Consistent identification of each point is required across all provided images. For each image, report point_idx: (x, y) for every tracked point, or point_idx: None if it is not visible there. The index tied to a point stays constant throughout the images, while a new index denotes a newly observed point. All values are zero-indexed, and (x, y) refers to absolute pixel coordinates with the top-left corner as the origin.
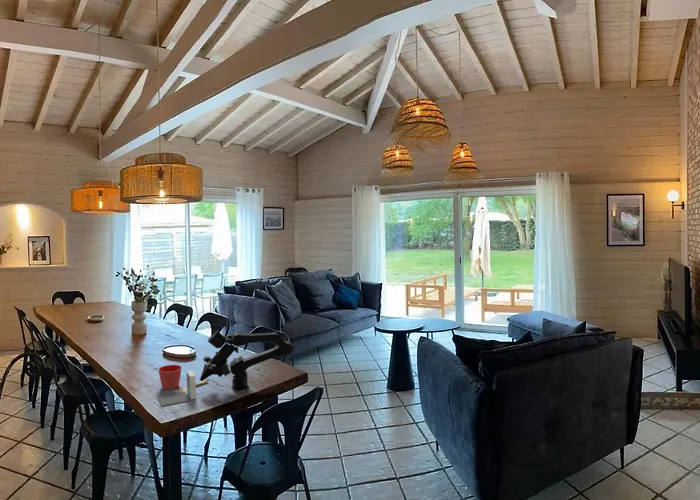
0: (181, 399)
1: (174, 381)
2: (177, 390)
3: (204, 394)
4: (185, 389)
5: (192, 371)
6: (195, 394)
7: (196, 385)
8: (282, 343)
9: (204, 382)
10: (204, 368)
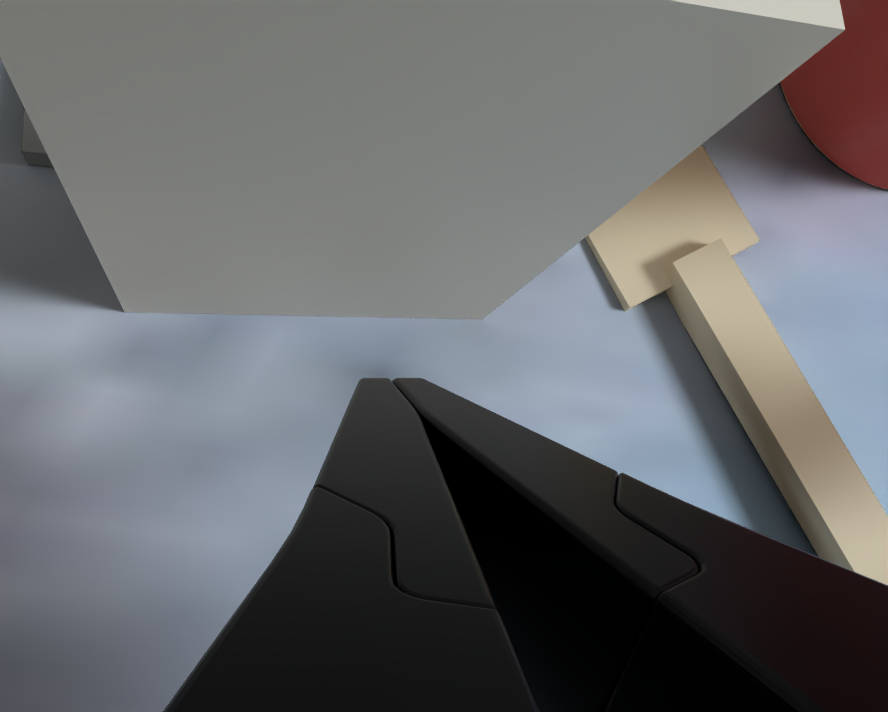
0: None
1: (873, 19)
2: None
3: (281, 523)
4: (668, 229)
5: (730, 6)
6: (112, 274)
7: (763, 435)
8: None
9: None
10: (684, 617)
